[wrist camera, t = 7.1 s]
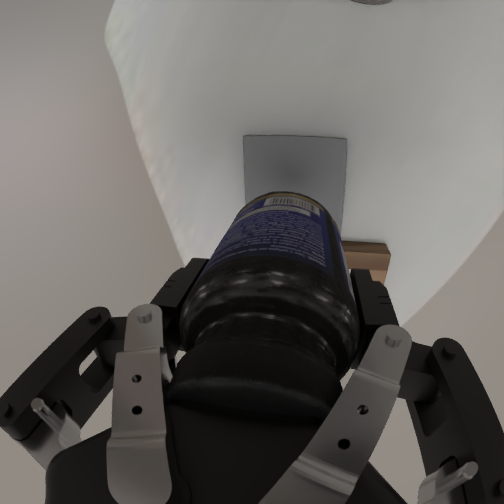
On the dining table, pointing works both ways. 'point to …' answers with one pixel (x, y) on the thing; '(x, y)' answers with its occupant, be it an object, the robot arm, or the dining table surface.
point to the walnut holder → (368, 258)
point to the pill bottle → (271, 313)
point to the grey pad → (297, 168)
